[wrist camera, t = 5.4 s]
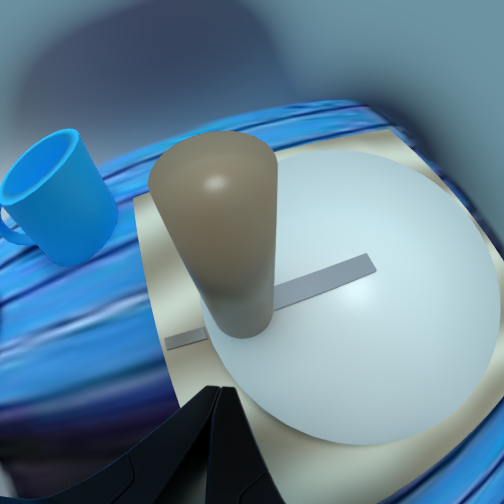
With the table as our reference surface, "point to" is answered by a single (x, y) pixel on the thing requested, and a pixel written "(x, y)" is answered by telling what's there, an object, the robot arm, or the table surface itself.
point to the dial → (332, 283)
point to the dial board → (266, 425)
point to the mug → (58, 200)
